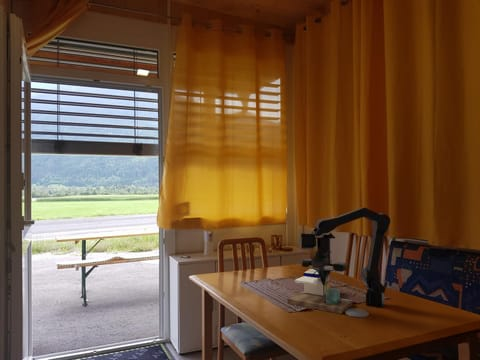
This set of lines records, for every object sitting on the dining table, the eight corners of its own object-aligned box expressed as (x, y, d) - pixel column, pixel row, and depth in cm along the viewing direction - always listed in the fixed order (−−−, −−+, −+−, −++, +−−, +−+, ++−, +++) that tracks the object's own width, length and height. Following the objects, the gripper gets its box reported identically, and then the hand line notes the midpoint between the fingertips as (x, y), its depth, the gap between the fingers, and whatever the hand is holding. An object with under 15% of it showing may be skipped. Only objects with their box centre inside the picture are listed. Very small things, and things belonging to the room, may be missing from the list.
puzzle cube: (303, 293, 175) (303, 272, 175) (309, 288, 184) (309, 268, 184) (324, 296, 170) (323, 274, 171) (329, 291, 179) (329, 270, 179)
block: (339, 306, 155) (339, 289, 155) (336, 309, 151) (336, 292, 152) (330, 304, 157) (329, 288, 158) (326, 307, 154) (326, 290, 154)
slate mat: (371, 312, 147) (371, 311, 147) (364, 319, 139) (364, 317, 139) (349, 308, 152) (349, 307, 152) (341, 314, 145) (341, 313, 145)
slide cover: (325, 295, 162) (325, 276, 163) (316, 300, 154) (316, 280, 154) (305, 291, 168) (304, 273, 169) (294, 296, 160) (294, 277, 160)
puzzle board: (352, 305, 157) (352, 299, 157) (340, 313, 145) (340, 308, 145) (301, 295, 171) (301, 290, 171) (287, 303, 159) (287, 298, 159)
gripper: (295, 249, 156) (296, 285, 156) (337, 253, 146) (338, 292, 145) (306, 246, 165) (307, 280, 165) (347, 249, 155) (347, 286, 154)
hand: (323, 284), depth 157 cm, fingers closed
